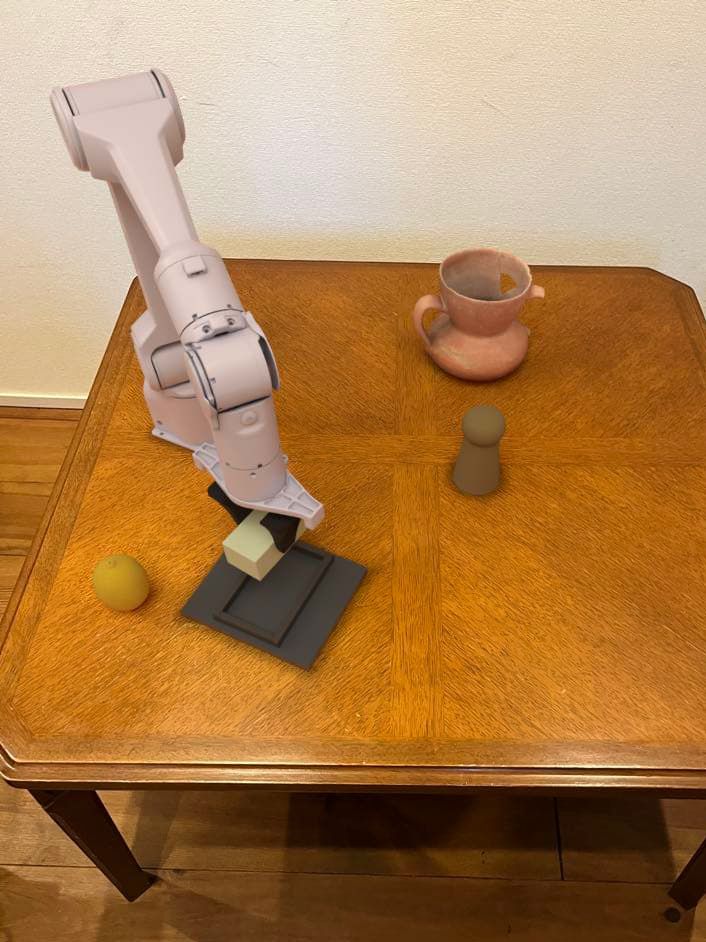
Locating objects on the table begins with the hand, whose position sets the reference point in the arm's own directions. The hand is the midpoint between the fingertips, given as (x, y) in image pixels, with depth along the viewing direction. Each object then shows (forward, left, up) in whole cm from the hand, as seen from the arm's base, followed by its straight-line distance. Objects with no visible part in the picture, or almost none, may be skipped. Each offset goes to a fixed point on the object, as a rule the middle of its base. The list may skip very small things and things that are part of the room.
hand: (268, 535), depth 78 cm
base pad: (+1, -2, -8) cm, 9 cm away
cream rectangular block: (0, 0, -1) cm, 1 cm away
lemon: (-13, -10, -9) cm, 19 cm away
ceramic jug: (+6, +45, -9) cm, 46 cm away
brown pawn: (+15, +24, -9) cm, 30 cm away
